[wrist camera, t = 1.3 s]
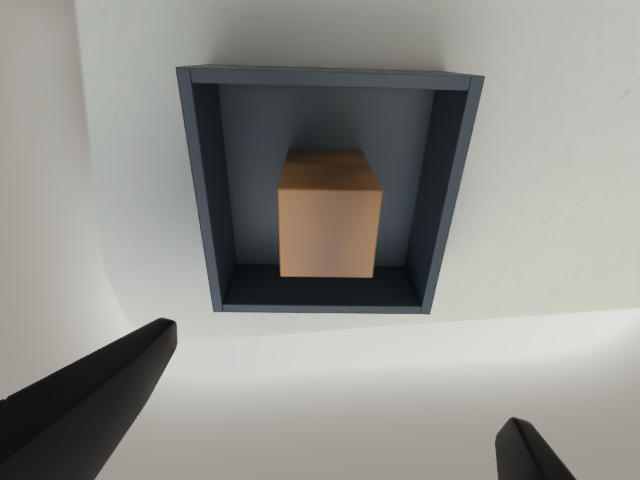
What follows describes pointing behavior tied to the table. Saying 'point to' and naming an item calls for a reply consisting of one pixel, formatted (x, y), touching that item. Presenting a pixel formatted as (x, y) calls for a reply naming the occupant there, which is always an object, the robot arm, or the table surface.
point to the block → (328, 214)
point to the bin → (325, 134)
